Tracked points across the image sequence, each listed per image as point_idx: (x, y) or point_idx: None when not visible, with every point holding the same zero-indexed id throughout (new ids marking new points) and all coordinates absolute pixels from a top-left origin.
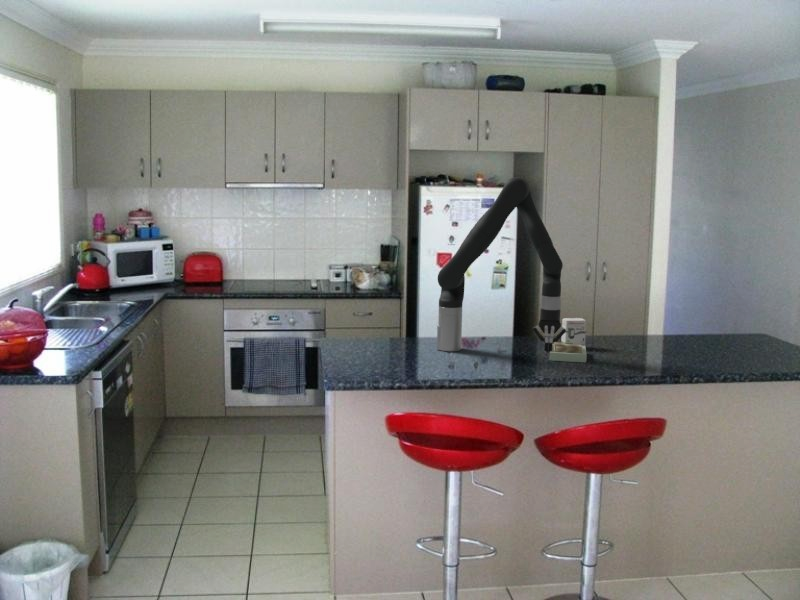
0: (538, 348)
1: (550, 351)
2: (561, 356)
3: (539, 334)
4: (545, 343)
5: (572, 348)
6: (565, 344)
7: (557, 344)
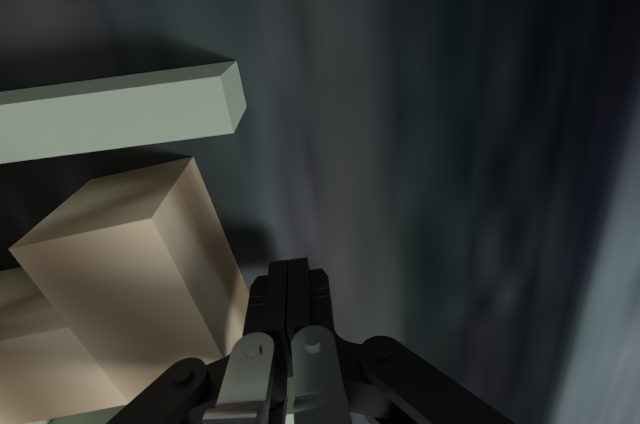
0: None
1: None
2: (75, 87)
3: (444, 418)
4: (325, 326)
5: (12, 321)
6: (117, 391)
7: None
